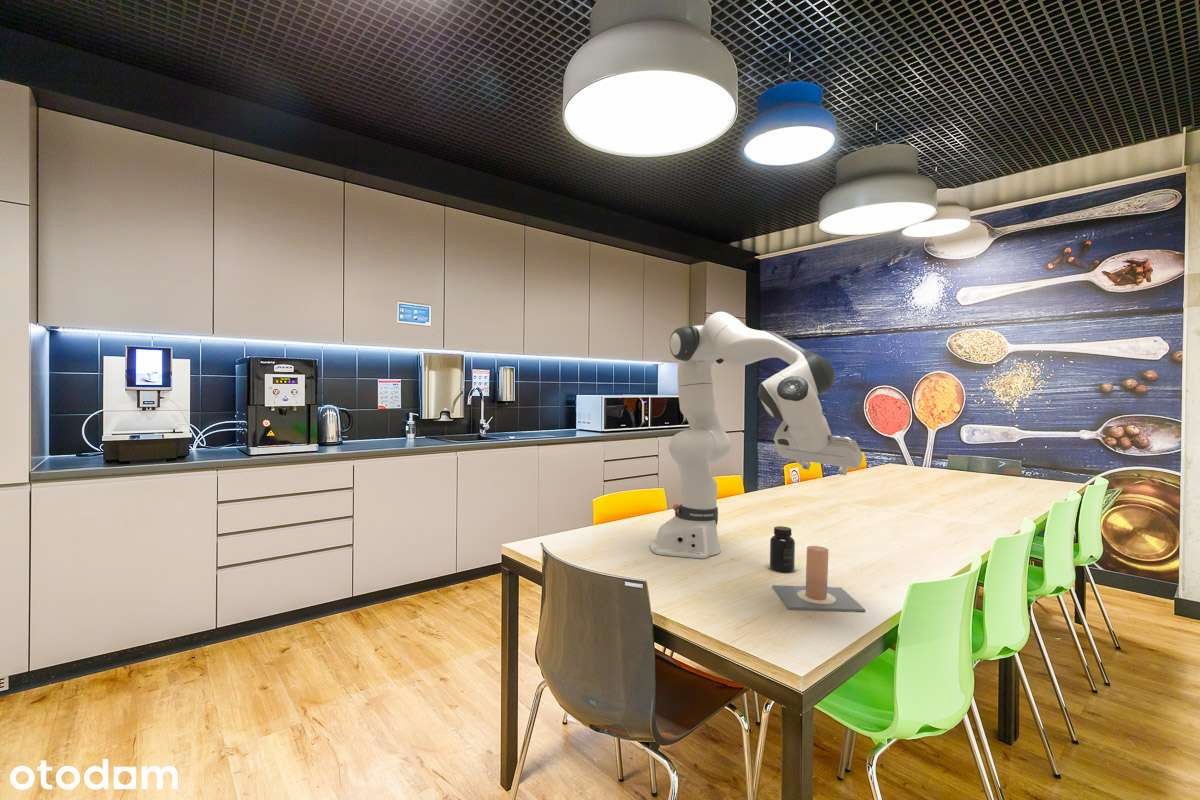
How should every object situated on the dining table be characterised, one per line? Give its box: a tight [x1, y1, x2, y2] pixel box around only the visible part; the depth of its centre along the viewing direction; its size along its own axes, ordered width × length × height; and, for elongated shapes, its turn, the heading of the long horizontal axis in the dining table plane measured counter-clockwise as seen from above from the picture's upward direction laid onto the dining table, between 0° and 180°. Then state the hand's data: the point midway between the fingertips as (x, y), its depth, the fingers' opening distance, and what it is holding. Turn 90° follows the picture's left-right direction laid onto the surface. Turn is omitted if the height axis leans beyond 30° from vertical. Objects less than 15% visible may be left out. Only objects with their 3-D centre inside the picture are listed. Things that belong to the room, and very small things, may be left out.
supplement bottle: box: [769, 525, 796, 573], centre depth 159 cm, size 7×7×12 cm
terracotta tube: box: [805, 545, 829, 600], centre depth 137 cm, size 5×5×12 cm
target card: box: [771, 584, 866, 612], centre depth 137 cm, size 18×14×1 cm
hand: (824, 470), depth 140 cm, fingers open, 8 cm apart
